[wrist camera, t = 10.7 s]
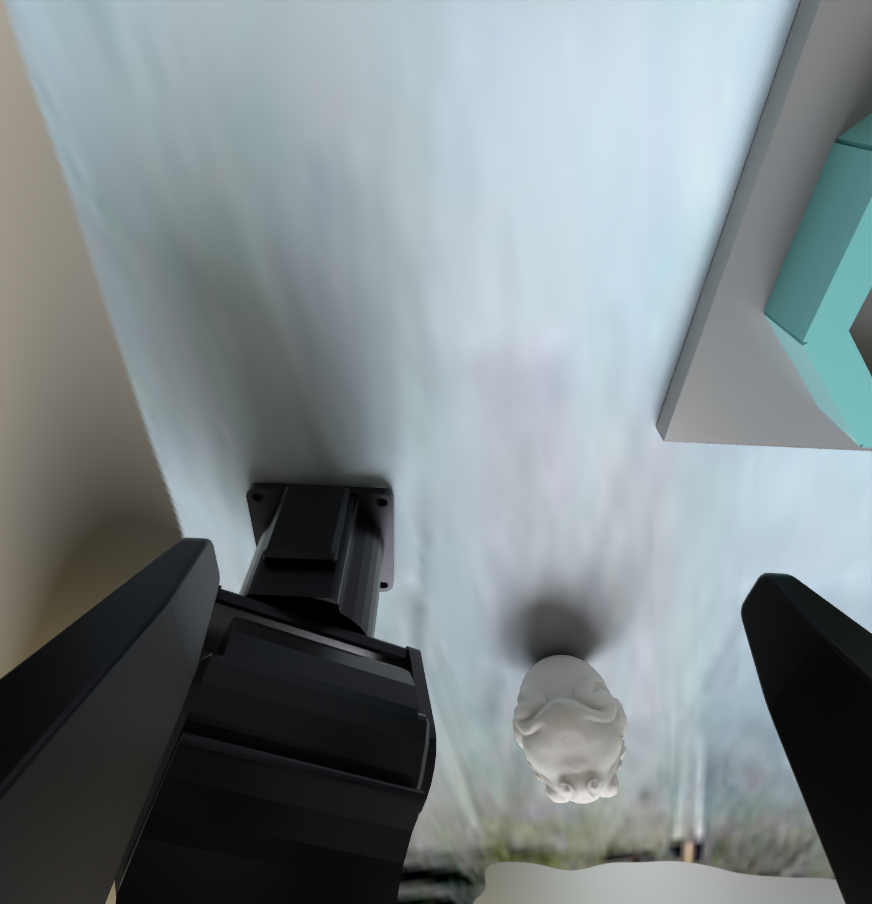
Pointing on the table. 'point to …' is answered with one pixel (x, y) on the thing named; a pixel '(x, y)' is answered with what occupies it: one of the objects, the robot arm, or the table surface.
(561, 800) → the frog figurine
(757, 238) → the teal ring holder base
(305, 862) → the robot arm
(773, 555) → the table surface
